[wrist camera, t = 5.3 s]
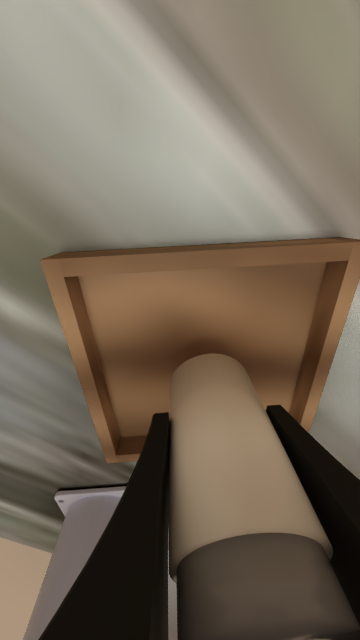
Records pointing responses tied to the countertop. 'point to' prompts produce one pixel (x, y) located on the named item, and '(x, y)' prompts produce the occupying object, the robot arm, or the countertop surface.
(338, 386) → the countertop surface
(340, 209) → the countertop surface
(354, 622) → the pepper shaker
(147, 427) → the tray
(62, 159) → the countertop surface
